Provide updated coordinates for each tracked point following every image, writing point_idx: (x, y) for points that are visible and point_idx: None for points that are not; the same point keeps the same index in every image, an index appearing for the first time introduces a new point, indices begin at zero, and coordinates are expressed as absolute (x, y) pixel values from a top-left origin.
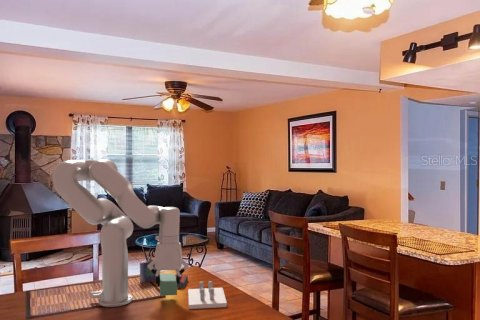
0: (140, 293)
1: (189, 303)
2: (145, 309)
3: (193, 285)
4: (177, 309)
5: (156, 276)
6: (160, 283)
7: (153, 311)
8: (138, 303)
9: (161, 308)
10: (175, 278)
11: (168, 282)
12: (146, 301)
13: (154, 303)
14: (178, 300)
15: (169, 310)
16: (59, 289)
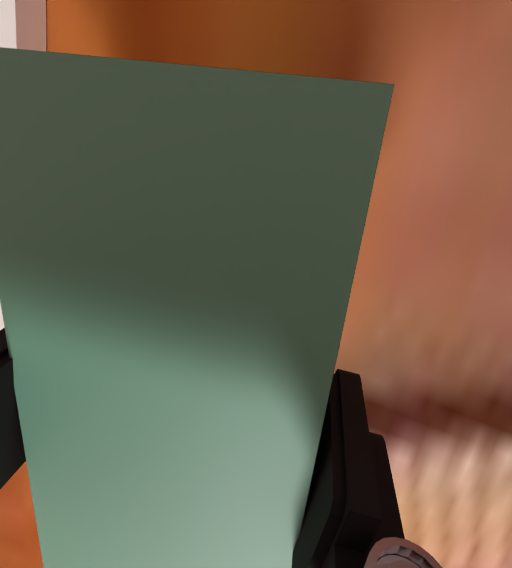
0: (414, 535)
1: (6, 15)
2: (505, 150)
3: (15, 522)
4: (169, 13)
5: (407, 543)
6: (350, 276)
7: (442, 46)
8: (509, 343)
9: None
10: (26, 436)
11: (165, 244)
12: (422, 363)
13: (365, 287)
14: None
15: (260, 11)
16: None
